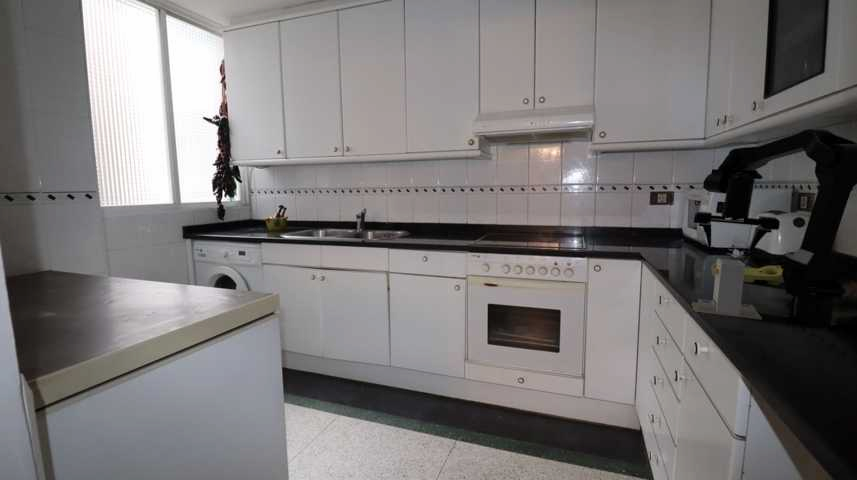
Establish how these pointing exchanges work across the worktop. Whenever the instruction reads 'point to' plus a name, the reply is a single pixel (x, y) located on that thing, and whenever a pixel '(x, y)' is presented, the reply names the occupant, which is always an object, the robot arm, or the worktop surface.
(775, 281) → the plastic component
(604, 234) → the worktop surface
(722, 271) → the block
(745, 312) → the rail
